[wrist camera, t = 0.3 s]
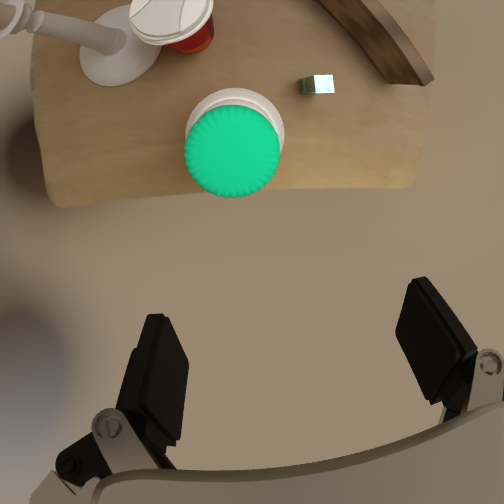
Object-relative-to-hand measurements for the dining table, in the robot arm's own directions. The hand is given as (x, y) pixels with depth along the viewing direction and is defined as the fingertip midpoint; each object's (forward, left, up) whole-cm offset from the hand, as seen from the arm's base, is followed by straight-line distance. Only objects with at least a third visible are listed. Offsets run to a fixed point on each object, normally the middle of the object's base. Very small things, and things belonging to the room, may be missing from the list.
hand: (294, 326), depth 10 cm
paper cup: (-18, -6, -31) cm, 36 cm away
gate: (-16, +16, -30) cm, 37 cm away
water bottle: (-5, -2, -31) cm, 31 cm away
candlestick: (-20, -16, -31) cm, 40 cm away
